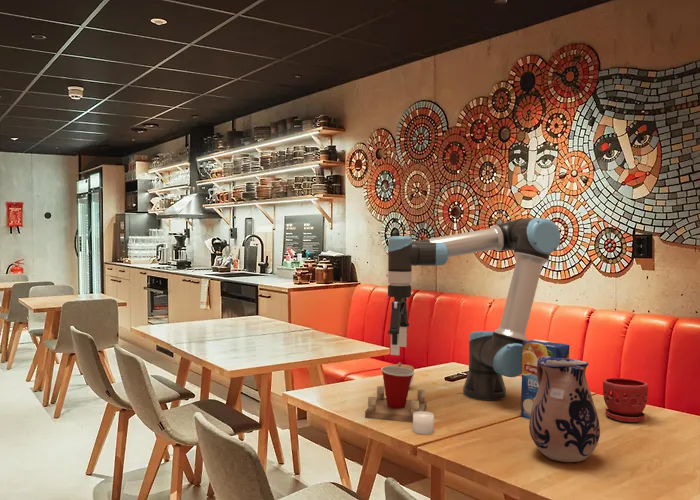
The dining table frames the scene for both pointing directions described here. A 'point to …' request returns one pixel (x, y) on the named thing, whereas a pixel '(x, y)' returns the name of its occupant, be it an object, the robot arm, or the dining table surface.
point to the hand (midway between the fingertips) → (398, 350)
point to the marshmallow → (423, 422)
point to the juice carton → (529, 368)
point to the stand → (382, 411)
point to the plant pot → (625, 399)
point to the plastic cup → (396, 385)
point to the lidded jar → (403, 367)
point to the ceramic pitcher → (564, 411)
